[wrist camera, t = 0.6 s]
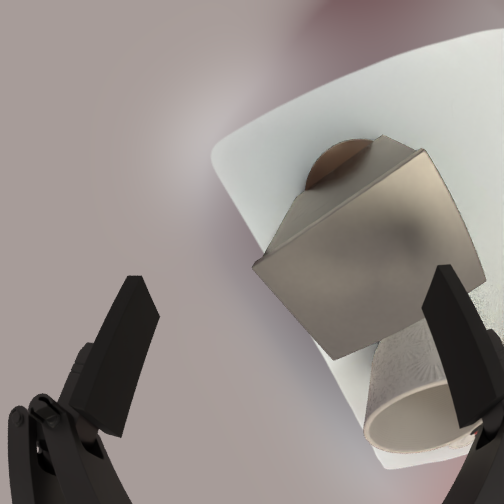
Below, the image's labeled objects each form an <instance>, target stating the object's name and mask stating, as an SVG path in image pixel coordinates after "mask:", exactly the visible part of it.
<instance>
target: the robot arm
mask: <svg viewBox="0 0 504 504" xmlns="http://www.w3.org/2000/svg"><path fill="white" fill-rule="evenodd" d="M421 309H422V311H423V314H424V316H425V319H426V321H427V324H428V327H429V329H430V332H431V335H432V337H433V340H434V343H435V346H436V348H437V351H438V354H439V357H440V360H441V363H442V366H443V369H444V373H445V376H446V379H447V383H448V386H449V389H450V393H451V397H452V400H453V404H454V408H455V412H456V416H457V420H458V424H459V429H461V428H464V427H467V426H470V425H473V424H475V423H476V422H477V421H478V420H480V419H481V418H482V422H483V423H482V424H480V425H479V426H478V427H476V428H475V429H474V430H472V432H471V434H470V435H473V434H474V433H476V432H477V431H478V432H477V434H476V435H475V436H474V437H475V439H474V442H473V444H472V446H471V449H470V451H469V453H468V456H467V458H466V460H465V462H464V464H463V466H462V469H461V470H460V472H459V474H458V476H457V478H456V480H455V482H454V484H453V486H452V487H451V489H450V491H449V493H448V494H447V496H446V498H445V500H444V501H443V503H442V504H504V346H503V344H502V342H501V339H500V337H499V336H498V335H497V334H496V333H495V332H494V331H493V329H489V330H486V328H485V326H484V324H483V322H482V320H481V318H480V316H479V314H478V312H477V310H476V308H475V306H474V304H473V302H472V301H471V299H470V297H469V295H468V293H467V291H466V290H465V288H464V286H463V284H462V283H461V281H460V279H459V277H458V276H457V274H456V272H455V271H454V269H453V267H452V266H451V264H446V265H437V268H436V271H435V273H434V276H433V279H432V282H431V284H430V287H429V289H428V292H427V295H426V297H425V300H424V302H423V304H422V307H421ZM159 318H160V316H159V314H158V311H157V309H156V307H155V305H154V303H153V300H152V298H151V296H150V294H149V292H148V289H147V287H146V284H145V282H144V280H143V277H142V276H127V278H126V280H125V281H124V283H123V285H122V287H121V289H120V291H119V293H118V295H117V297H116V299H115V300H114V302H113V304H112V306H111V309H110V310H109V312H108V314H107V316H106V318H105V320H104V323H103V325H102V327H101V329H100V331H99V333H98V335H97V337H96V339H95V342H94V343H86V344H85V346H84V347H83V348H82V349H81V350H80V351H79V353H78V356H77V358H76V360H75V364H73V367H72V369H71V372H70V374H69V376H68V378H67V380H66V383H65V385H64V388H63V390H62V392H61V395H60V397H59V400H58V402H55V401H54V400H53V399H52V398H51V397H50V396H48V395H47V394H43V393H42V394H38V395H37V396H35V397H34V398H33V399H32V401H31V402H30V405H29V408H28V410H27V409H26V408H25V407H23V406H17V407H15V408H14V409H13V410H12V411H11V413H10V415H9V420H8V462H9V478H10V488H11V496H12V504H132V502H131V501H130V499H129V497H128V495H127V493H126V491H125V490H124V488H123V486H122V484H121V482H120V480H119V478H118V476H117V474H116V472H115V470H114V468H113V466H112V463H111V461H110V459H109V457H108V455H107V452H106V450H105V448H104V445H103V443H102V441H101V438H100V436H99V435H98V430H99V429H100V430H102V431H103V432H104V433H106V434H109V435H113V436H116V437H120V438H121V437H122V434H123V430H124V426H125V422H126V419H127V416H128V412H129V409H130V406H131V402H132V399H133V396H134V392H135V389H136V386H137V382H138V379H139V376H140V373H141V370H142V367H143V364H144V361H145V358H146V355H147V352H148V349H149V346H150V343H151V340H152V337H153V334H154V332H155V329H156V326H157V323H158V320H159ZM37 447H39V452H38V453H37Z"/></svg>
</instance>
